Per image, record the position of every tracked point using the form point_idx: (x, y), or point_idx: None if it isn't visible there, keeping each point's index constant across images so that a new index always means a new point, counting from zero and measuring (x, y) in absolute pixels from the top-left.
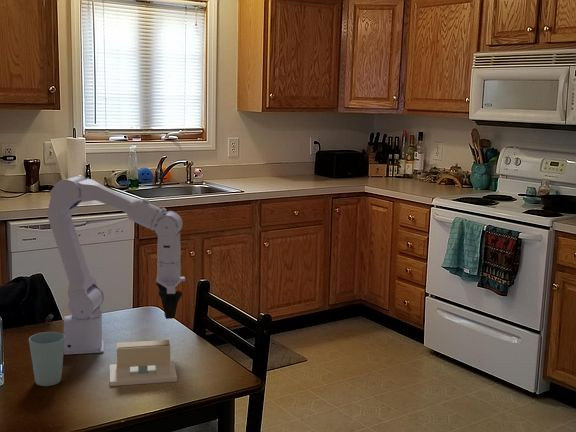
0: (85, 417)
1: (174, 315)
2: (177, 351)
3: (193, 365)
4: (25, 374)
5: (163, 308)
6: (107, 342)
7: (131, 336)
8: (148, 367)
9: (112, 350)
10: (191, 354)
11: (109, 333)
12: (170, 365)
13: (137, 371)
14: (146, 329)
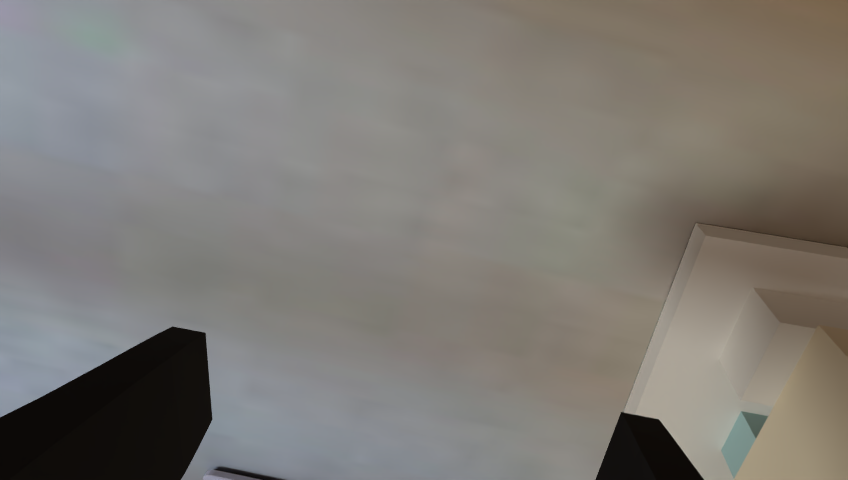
0: None
1: (687, 457)
2: (454, 130)
3: (799, 81)
4: None
5: (207, 426)
6: (216, 451)
7: (131, 333)
8: (740, 402)
9: (335, 457)
10: (556, 35)
11: None
12: (788, 276)
13: None
14: (5, 228)
